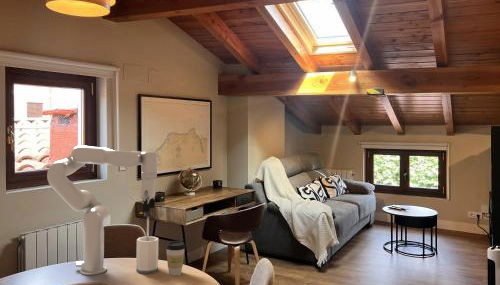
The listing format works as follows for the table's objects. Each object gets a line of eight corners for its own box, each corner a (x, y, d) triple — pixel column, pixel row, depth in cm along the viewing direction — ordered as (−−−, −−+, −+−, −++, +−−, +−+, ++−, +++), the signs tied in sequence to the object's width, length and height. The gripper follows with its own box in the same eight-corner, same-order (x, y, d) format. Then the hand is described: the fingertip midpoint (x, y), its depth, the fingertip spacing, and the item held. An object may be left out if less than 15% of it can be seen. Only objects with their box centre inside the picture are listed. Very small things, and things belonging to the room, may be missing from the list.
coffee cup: (180, 277, 203) (181, 247, 202) (161, 275, 205) (162, 245, 204) (187, 271, 212) (188, 241, 212) (169, 269, 214) (170, 240, 214)
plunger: (138, 247, 208) (139, 210, 208) (142, 243, 215) (143, 208, 215) (152, 247, 208) (153, 211, 207) (156, 243, 215) (157, 208, 214)
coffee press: (133, 273, 207) (134, 241, 206) (141, 265, 219) (141, 235, 219) (154, 274, 206) (155, 242, 206) (161, 265, 219) (161, 235, 219)
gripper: (146, 174, 219) (146, 206, 220) (136, 177, 202) (136, 213, 203) (160, 174, 219) (160, 206, 220) (151, 178, 202) (151, 213, 202)
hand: (148, 209), depth 211 cm, fingers open, 9 cm apart
